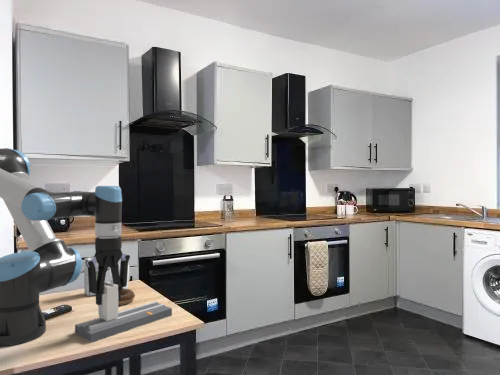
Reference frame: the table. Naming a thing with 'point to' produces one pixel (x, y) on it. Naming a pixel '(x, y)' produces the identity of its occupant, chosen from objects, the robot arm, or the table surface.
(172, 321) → the table surface
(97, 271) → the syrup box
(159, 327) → the table surface
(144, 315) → the slider board
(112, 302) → the fader knob
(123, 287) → the white cup
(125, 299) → the donut
